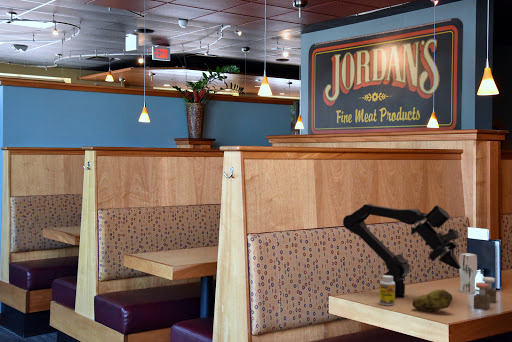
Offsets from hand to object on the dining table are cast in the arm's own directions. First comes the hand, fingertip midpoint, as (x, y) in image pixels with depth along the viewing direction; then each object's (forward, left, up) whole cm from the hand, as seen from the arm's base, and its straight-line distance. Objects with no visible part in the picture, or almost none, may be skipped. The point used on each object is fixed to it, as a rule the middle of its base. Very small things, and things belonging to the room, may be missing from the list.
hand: (459, 268), depth 227 cm
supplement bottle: (-26, -4, -13) cm, 30 cm away
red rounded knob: (+7, -3, -10) cm, 13 cm away
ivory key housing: (+12, +9, -13) cm, 20 cm away
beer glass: (+8, +25, -13) cm, 29 cm away
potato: (-11, -12, -13) cm, 22 cm away
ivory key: (+12, +9, -10) cm, 18 cm away
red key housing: (+7, -3, -13) cm, 16 cm away
